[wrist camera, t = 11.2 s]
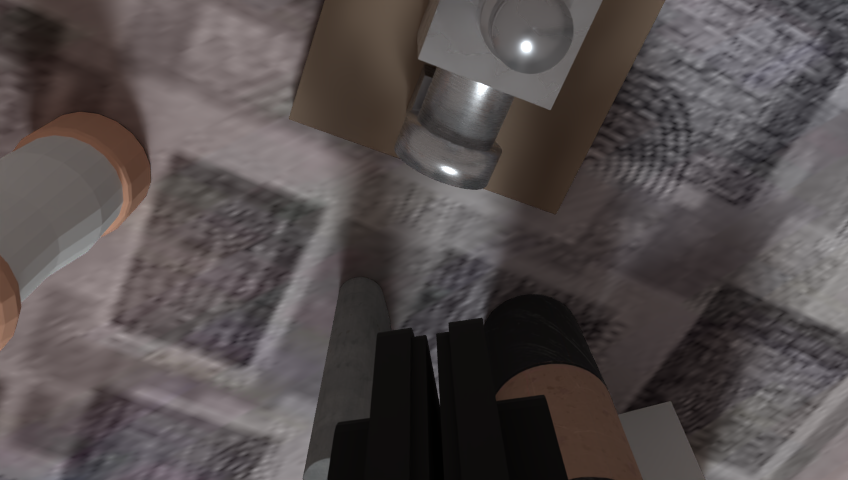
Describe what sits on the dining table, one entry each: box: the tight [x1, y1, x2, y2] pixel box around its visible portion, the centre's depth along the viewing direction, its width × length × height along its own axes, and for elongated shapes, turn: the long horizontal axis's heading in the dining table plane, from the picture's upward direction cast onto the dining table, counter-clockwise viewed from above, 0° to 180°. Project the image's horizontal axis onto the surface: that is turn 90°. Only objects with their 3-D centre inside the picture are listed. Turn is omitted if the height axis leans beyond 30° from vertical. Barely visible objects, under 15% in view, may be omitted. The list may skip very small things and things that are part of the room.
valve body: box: [394, 0, 602, 190], centre depth 34 cm, size 7×18×10 cm, turn 159°
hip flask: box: [303, 277, 391, 480], centre depth 42 cm, size 16×4×20 cm, turn 0°
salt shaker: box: [0, 112, 151, 351], centre depth 35 cm, size 7×7×19 cm
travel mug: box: [484, 295, 643, 480], centre depth 41 cm, size 8×8×20 cm
